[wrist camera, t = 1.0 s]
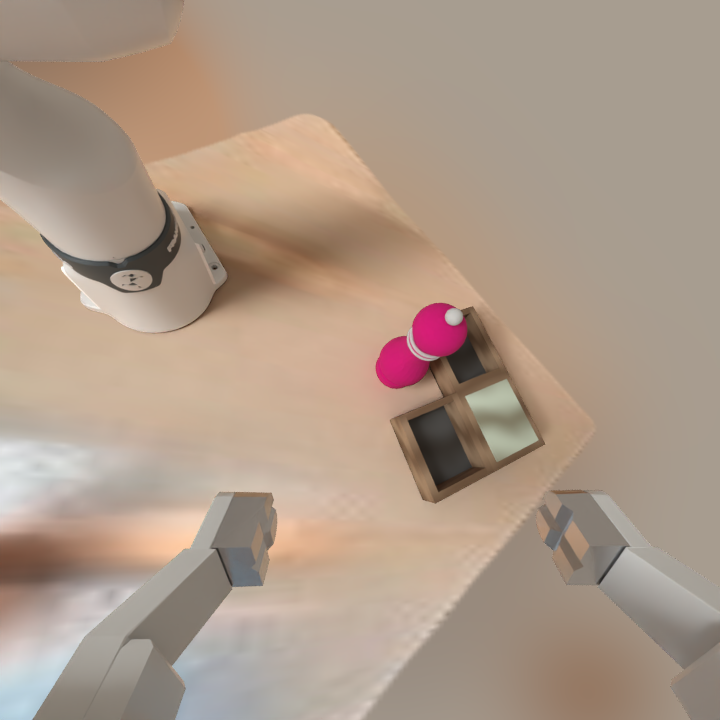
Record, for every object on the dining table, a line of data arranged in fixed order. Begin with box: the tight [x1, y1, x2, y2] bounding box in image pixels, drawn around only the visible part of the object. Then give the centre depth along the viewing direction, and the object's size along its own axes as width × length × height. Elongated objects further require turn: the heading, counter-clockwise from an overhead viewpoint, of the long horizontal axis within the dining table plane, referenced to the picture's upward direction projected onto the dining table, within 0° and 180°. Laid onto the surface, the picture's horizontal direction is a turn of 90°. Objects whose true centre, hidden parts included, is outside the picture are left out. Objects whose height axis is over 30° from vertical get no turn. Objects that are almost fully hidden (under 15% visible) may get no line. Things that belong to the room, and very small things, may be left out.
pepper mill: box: [376, 303, 467, 389], centre depth 39 cm, size 7×7×20 cm
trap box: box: [390, 306, 545, 503], centre depth 47 cm, size 24×20×4 cm
